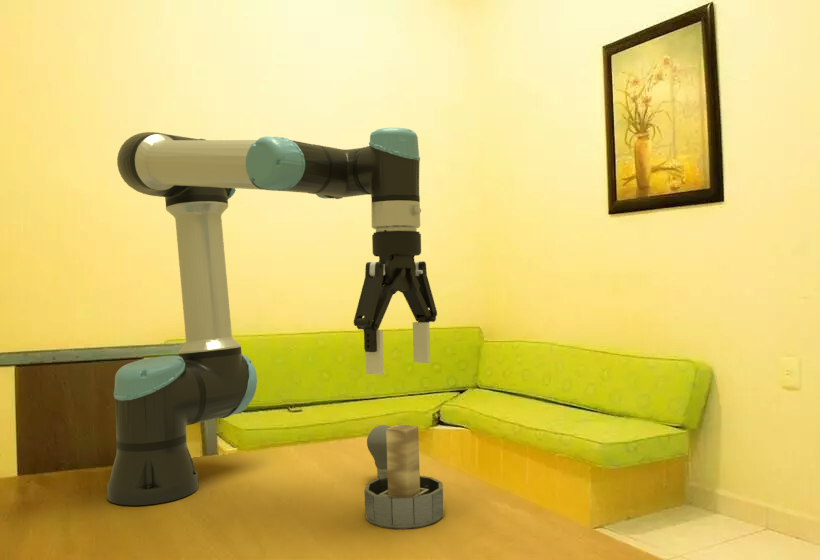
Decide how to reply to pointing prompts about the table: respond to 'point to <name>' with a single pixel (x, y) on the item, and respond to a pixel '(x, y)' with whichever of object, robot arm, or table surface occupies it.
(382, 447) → the light bulb
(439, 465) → the table surface
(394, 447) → the tan square post
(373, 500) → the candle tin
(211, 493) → the table surface
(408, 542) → the table surface
